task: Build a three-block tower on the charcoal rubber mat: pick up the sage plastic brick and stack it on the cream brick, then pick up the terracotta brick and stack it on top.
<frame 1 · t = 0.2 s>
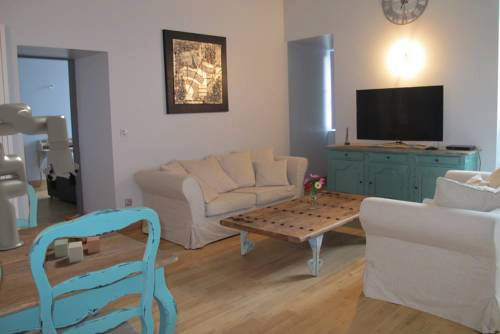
hand: (63, 187, 185), 30 cm above the table, tool pointing down, fingers open, 9 cm apart
build mat: (76, 260, 187), on the table
terracotta brick: (94, 251, 198), on the table
cream brick: (76, 258, 187), point 1 cm above the table, touching build mat
toy helicopter: (69, 245, 209), on the table
sage brick: (62, 255, 195), on the table
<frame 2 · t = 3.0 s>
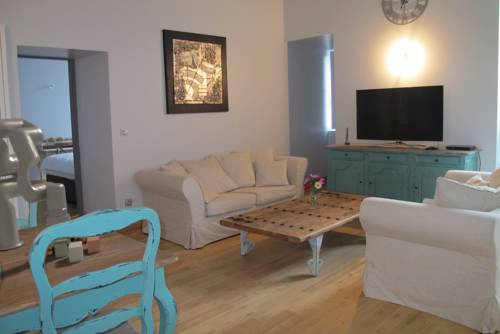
hand: (62, 253, 194), 1 cm above the table, tool pointing down, fingers closed on sage brick, 5 cm apart
sage brick: (62, 255, 194), on the table, touching gripper
everything else where it was.
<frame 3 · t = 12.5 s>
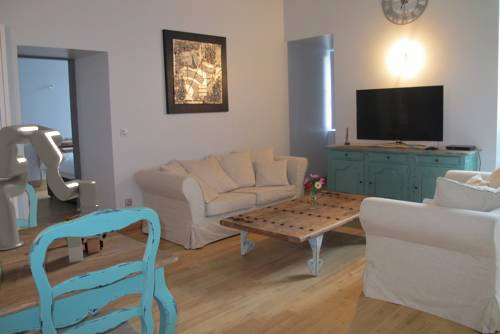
hand: (94, 249, 198), 1 cm above the table, tool pointing down, fingers closed on terracotta brick, 5 cm apart
terracotta brick: (94, 251, 198), on the table, touching gripper
cream brick: (76, 258, 187), point 1 cm above the table, touching build mat, sage brick
sage brick: (75, 244, 186), point 7 cm above the table, touching cream brick
everything else where it was.
when the fingers open (14 cm above the table, at t = 17.0 s): terracotta brick stays where it is, resting on sage brick.
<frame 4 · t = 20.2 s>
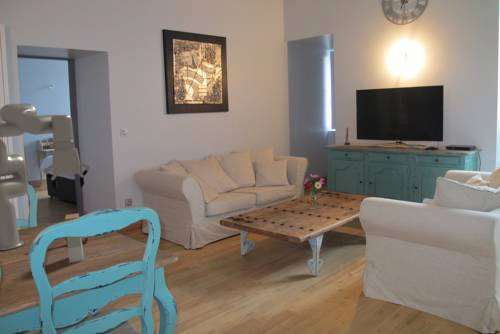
hand: (69, 188, 183), 30 cm above the table, tool pointing down, fingers open, 9 cm apart
terracotta brick: (73, 230, 185), point 13 cm above the table, touching sage brick
sage brick: (75, 244, 186), point 7 cm above the table, touching cream brick, terracotta brick
everything else where it was.
at the end: sage brick 0.1 cm off-centre on the cream brick, point 6.0 cm above the cream brick's base; terracotta brick 0.0 cm off-centre on the cream brick, point 12.0 cm above the cream brick's base; terracotta brick tilted 0° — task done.
